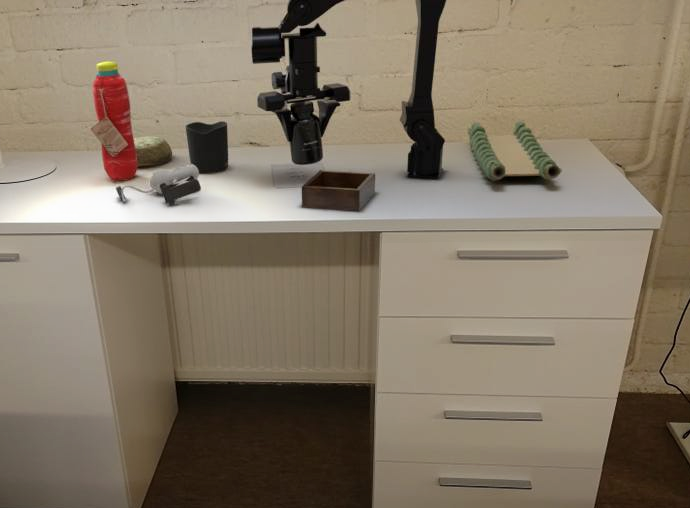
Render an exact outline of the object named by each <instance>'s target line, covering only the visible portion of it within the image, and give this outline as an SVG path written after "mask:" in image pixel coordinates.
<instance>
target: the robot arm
mask: <svg viewBox="0 0 690 508" xmlns="http://www.w3.org/2000/svg"><path fill="white" fill-rule="evenodd" d="M345 1H346V0H288V2H287V7H286V14H285V16H284V17H283V19H282V20H280V24H279V25H278V26H267V27H266V26H265V27H262V26H253V27H252V28H251V41H252V42H251V48H250V49H251V60H252V61H251V62H252V64H253V65H257V64H273V63H274V64H275V63H276V64H277V63H278V64H279V63H281V59H283V58H284V57H285V58H286V39H287V41H288V43H287V44H288V46H287V47H288V65H286V74H283V72H282V71H275V72H272V73H271V87H272V90H274V91H266V92H265V91H264V92H260V93H259V94H258V96H257V99H256V100H257V101H256V102H257V108H259V109H261V110H263V111H265V112H272V113H274V114H275V115H276V117H277V119H278V120H279V123H280V125H281V127H282V131H283V133H284V135H285V138H286V141H287V142H288V143H290V142H291V136H292V133H291V117H292V115H291V109H290V108H289V109H288V105H291V104H293V103H297V102H305V101H312V102H313V101H316V103H317V107H318V117H319V119H320V128H321V138H323V137H324V135H325V132H326V130H327V128H328V125H329V123H330V120H331V118H332V116H333V114H334V113H335V112H336V109H337V107H340V106H341V103H343V102H348V101H349V102H350V101H351V90H350V87H349V86H348V85H345V84H342V83H339V82H336V83H329V84H323V86H322V88H320V87H319V81H318V79H319V77H318V76H319V75H318V73H321V66H318V38H321V37H327V32H326V30H325V29H323V28H322V27H321V24H320V23H319V22H316V23H315V24H314V26H312V27H305V26H308V25H310V24H312V23H313V22H314V21H316V20H317V19H319V18H320V17H321V16H323V15H324V14H326V13H327V12H328V11H329V10H331V9H332V8H333V7H335V6H336V5H338V4H340V3H342V2H345ZM414 1H415V8H416V15H417V26H416V38H415V50H414V61H413V72H412V83H411V84H412V85H411V91H410V95H409V98H408V100H401V114H400V117H399V122H400V123H401V125H402V127H403V130H404V131H405V133H406V134H407V136H408V138H409V139H410V140H412V141H413V143H412V145H411V146H410V150H409V151H408V153H407V165H406V166H407V168H406V172H407V177H408V178H418V179H419V178H420V179H421V178H422V179H439V178H440V176H441V175H442V173H443V172H444V168H443V167H442V166H443V153H444V144H445V142H446V139H445V138H444V137H443V135H442V134H441V132H440V131H439V130H438V129H437V127H436V125H435V124H436V121H435V111H434V109H435V108H434V102H433V95H432V94H433V84H434V74H435V65H436V54H437V44H438V33H439V24H440V20H441V18H442V14H443V11H444V10H445V6H446V3H447V0H414ZM298 27H299V29H298V30H299V31H298V32H294V33H292V32H293V31H294V30H295V29H296V28H298ZM276 90H280V92H278V91H276Z"/></svg>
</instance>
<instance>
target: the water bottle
mask: <svg viewBox="0 0 690 508" xmlns="http://www.w3.org/2000/svg"><path fill="white" fill-rule="evenodd" d="M119 69H120V67H118V63H117V62H114V61H103V62H99V63H97V64H96V71H97V75H95V79H94V81H93V83H92V94H93V95H92V97H93V103H94V104H93V105H94V110H95V115H96V119H97V123H96V124H94V125H93V126H92V127H91V128H90V130H91V132H92V133H93V135H94V136H95V137H96V138H97V140H98V141H99V142H100V147H101V158H102V164H103V170H104V171H105V173H106V175H107V177H108V178H109V179H110V180H113V181H118V182H119V181H128V180H131V179H133V178H134V177H135V176H136V174H137V172H138V171H137V170H138V167H139V166H138V163H137V154H136V149H135V144H134V134H133V127H132V120H131V119H132V117H131V116H132V115H131V101H130V95H129V89H128V86H127V82H126V80H125V78H124V77H123V76H122V74H121V73H119Z"/></svg>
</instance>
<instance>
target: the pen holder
mask: <svg viewBox="0 0 690 508" xmlns="http://www.w3.org/2000/svg"><path fill="white" fill-rule="evenodd" d="M185 133H186V134H185V135H186V141H187V148H188V156H189V162H190V164H193V165H195V166H196V167H197V168H198V171H199V174H217V173H220V172H224V171H226V170H227V169H228V168H229V137H228V123H227V122H226V121H222V120H221V121H217V122H215V123H205V122H201V121H195V122H190V123H187V124H186V125H185Z"/></svg>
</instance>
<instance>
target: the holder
mask: <svg viewBox="0 0 690 508" xmlns="http://www.w3.org/2000/svg"><path fill="white" fill-rule="evenodd" d="M375 193H376V173H374V172H360V171H359V172H357V171H356V172H355V171H341V170H340V171H339V170H318V172H316V173H315V174H314V175H313V176H312V177H311V178H310V179H308V180H307V181H306V182H305V183H304V184H303V185H302V186H301V208H311V209H312V208H313V209H324V210H336V211H337V210H338V211H349V212H350V211H352V212H360V211H361V210H362V209H363V207H364V206H365V205H367V203H368V202H369V201H370V200H371V199H372V197H373V196H374V195H375Z"/></svg>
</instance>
